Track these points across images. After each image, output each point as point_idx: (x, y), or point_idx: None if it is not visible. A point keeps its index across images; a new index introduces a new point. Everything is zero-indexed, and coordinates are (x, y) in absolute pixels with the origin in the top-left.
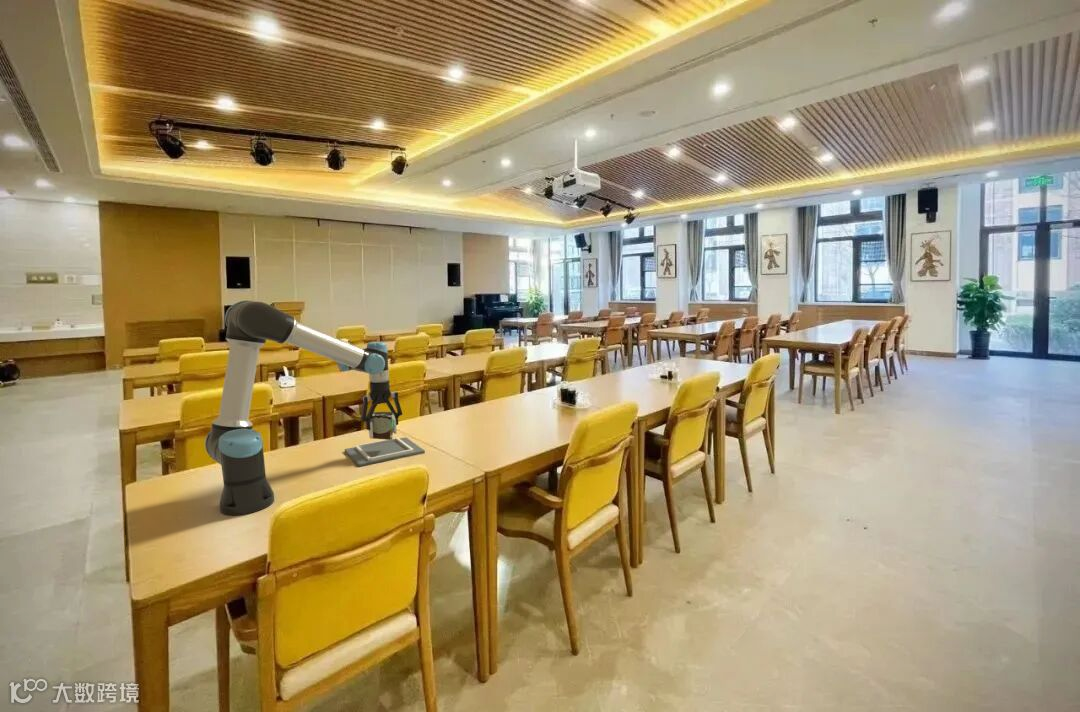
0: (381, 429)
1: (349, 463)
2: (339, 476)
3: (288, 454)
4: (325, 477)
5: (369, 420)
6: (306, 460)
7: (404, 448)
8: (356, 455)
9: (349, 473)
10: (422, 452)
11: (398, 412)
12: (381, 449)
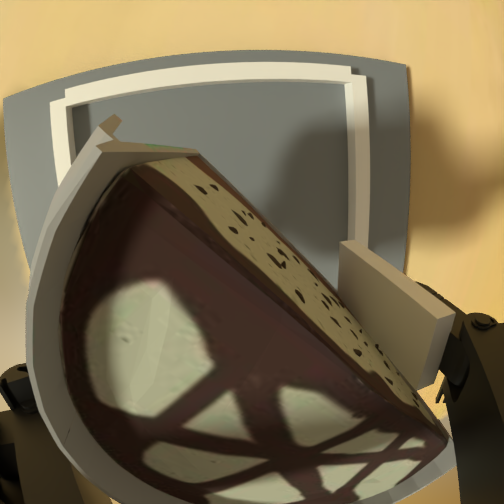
0: (287, 253)
1: (422, 151)
2: (463, 28)
3: None
4: (494, 61)
5: (476, 330)
6: (492, 288)
7: None
8: (387, 218)
9: (435, 25)
10: (19, 95)
11: (11, 467)
12: None
